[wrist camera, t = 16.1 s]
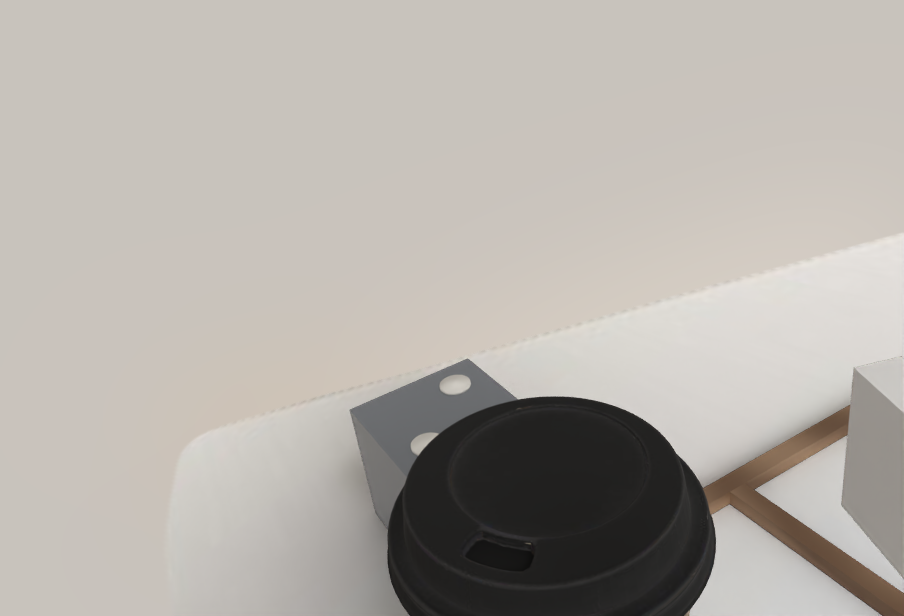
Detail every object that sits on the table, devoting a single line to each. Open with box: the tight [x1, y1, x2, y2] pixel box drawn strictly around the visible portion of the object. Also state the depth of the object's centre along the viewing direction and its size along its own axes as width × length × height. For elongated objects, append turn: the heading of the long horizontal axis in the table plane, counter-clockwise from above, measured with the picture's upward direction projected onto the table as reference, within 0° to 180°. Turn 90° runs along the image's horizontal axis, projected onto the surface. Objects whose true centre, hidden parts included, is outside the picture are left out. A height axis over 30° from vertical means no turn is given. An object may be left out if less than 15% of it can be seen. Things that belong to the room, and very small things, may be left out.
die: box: [350, 359, 518, 529], centre depth 43 cm, size 7×7×7 cm
